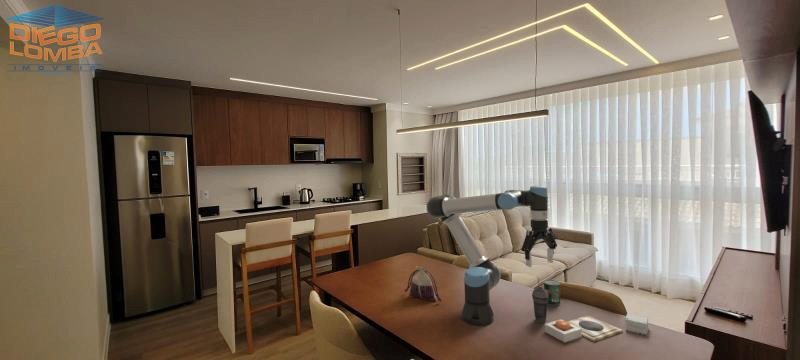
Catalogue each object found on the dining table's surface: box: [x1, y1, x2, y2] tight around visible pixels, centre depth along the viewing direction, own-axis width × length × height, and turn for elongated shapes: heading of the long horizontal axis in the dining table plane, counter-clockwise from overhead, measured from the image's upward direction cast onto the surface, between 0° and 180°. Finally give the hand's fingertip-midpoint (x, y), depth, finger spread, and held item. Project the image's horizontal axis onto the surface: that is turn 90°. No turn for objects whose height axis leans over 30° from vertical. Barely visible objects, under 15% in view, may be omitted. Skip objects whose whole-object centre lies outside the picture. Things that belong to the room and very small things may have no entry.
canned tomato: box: [543, 279, 561, 306], centre depth 175 cm, size 8×8×11 cm
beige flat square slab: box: [566, 314, 623, 343], centre depth 146 cm, size 18×16×1 cm
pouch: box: [404, 265, 442, 303], centre depth 186 cm, size 25×8×19 cm, turn 58°
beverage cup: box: [531, 277, 549, 323], centre depth 156 cm, size 7×7×20 cm
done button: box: [555, 319, 570, 331], centre depth 142 cm, size 6×6×2 cm
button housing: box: [544, 318, 582, 343], centre depth 142 cm, size 10×10×4 cm
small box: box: [624, 312, 649, 336], centre depth 145 cm, size 8×8×5 cm
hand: (539, 264), depth 155 cm, fingers open, 13 cm apart
